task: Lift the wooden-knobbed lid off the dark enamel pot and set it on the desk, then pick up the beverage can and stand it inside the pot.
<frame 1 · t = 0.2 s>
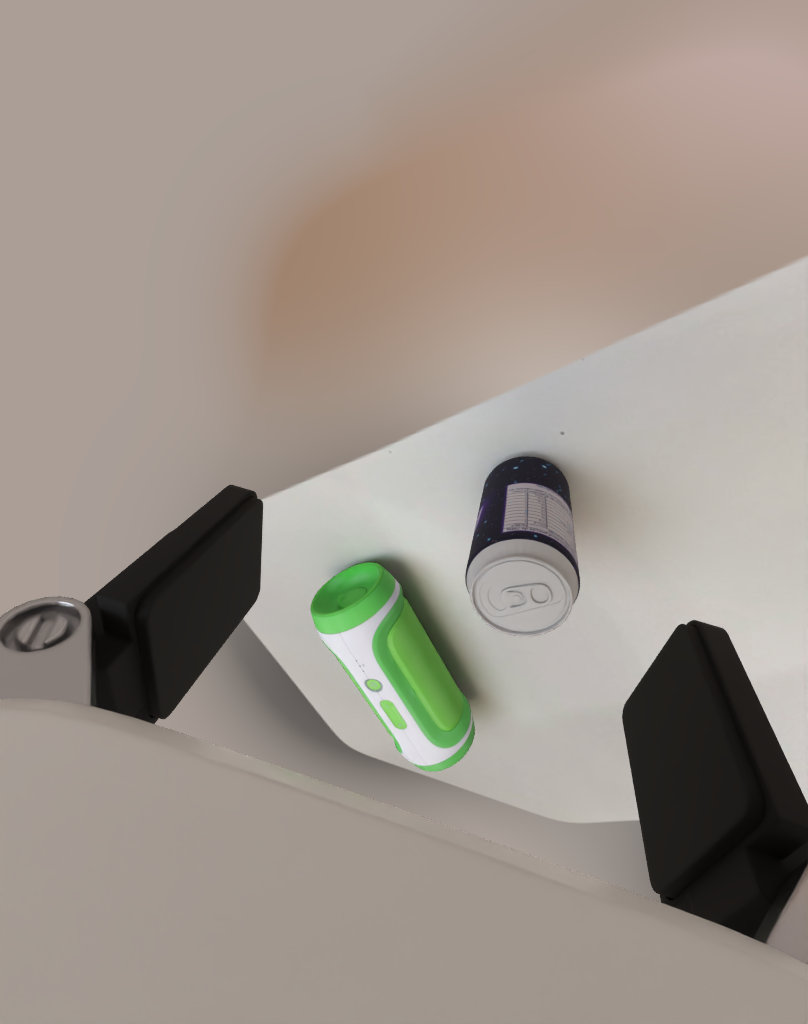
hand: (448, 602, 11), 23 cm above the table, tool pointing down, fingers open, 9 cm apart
beverage can: (525, 487, 34), on the table
speaker: (408, 634, 44), on the table
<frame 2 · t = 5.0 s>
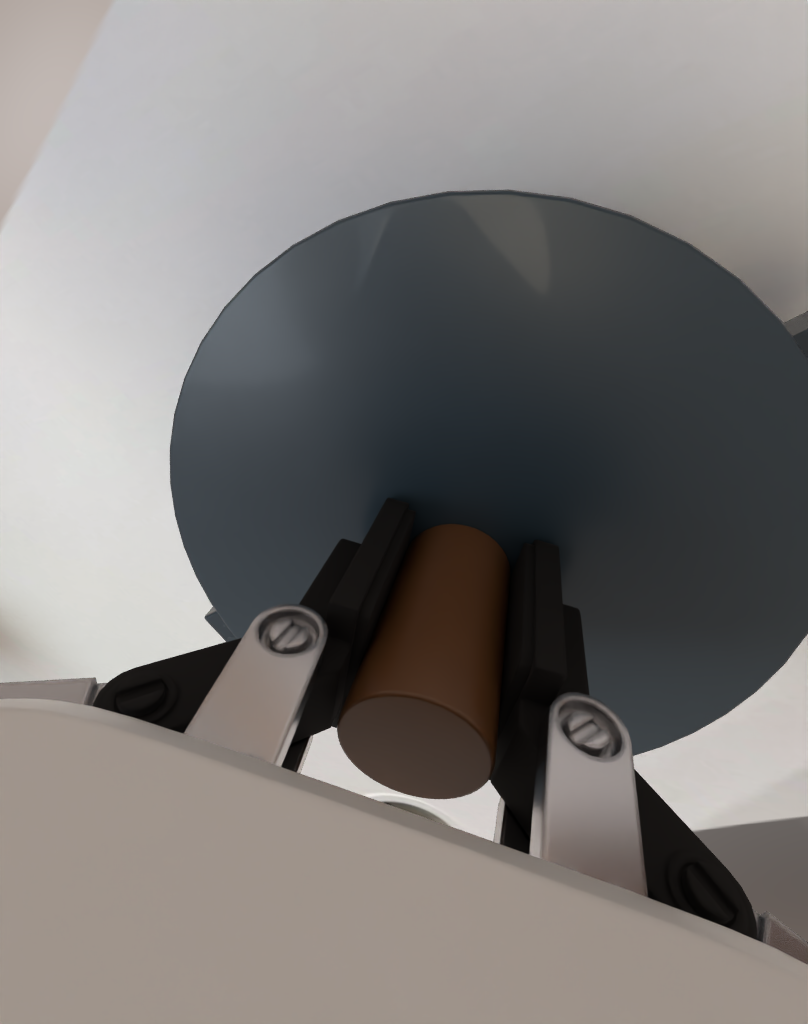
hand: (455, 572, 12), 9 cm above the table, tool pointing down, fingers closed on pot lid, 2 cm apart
pot: (488, 436, 20), on the table
pot lid: (459, 554, 13), point 9 cm above the table, touching gripper, pot
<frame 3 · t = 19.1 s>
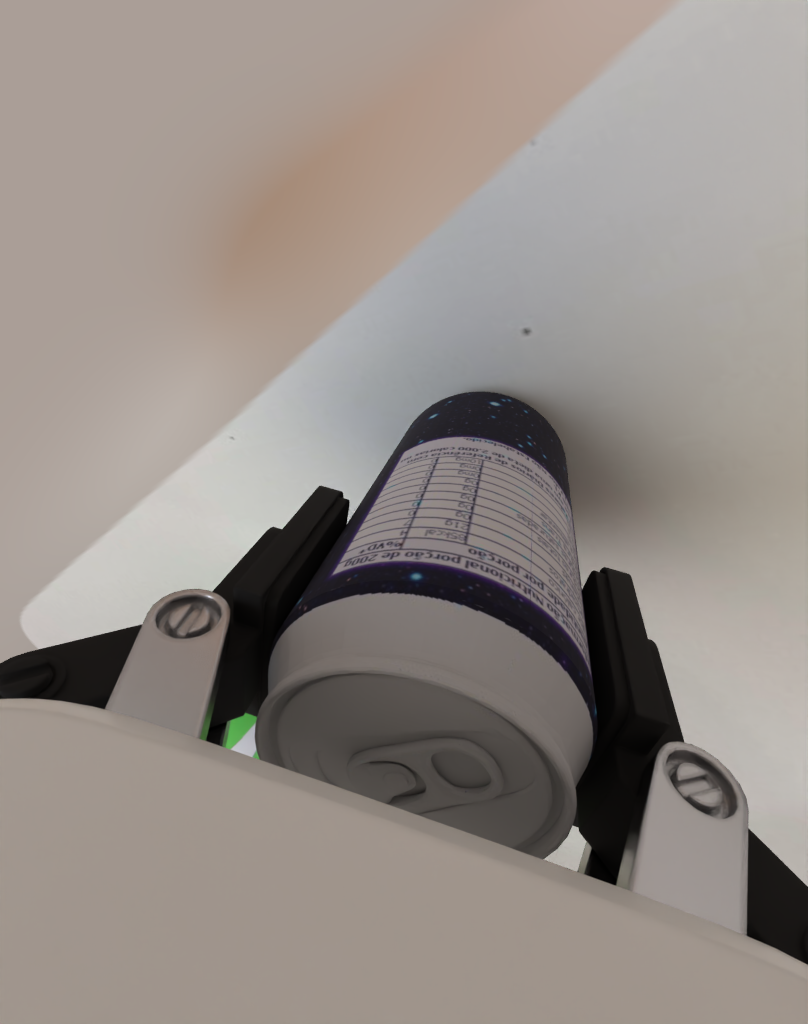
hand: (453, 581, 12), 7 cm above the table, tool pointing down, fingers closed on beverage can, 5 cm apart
beverage can: (482, 461, 18), on the table, touching gripper
speaker: (360, 732, 27), on the table
when the fingers open (7 cm above the table, at t = 29.0 s): beverage can stays where it is, resting on pot.
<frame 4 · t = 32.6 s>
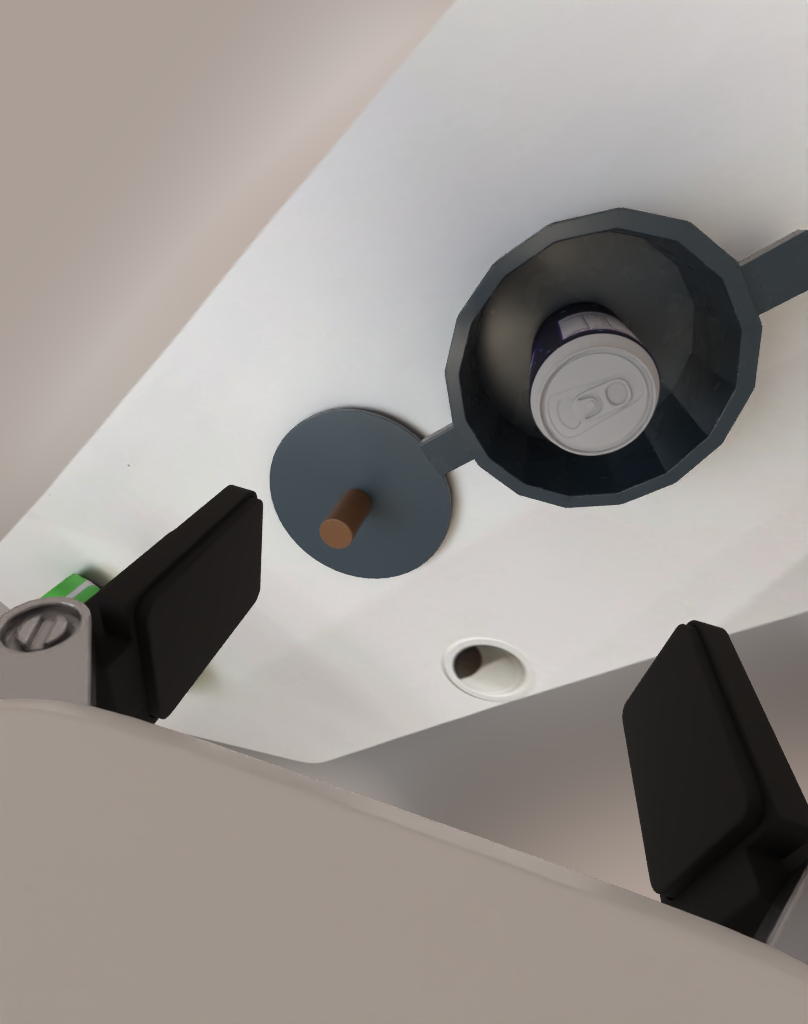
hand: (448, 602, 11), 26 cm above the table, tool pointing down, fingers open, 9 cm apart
pot: (578, 346, 32), on the table
beverage can: (576, 347, 32), resting on pot
speaker: (134, 625, 58), on the table
pot lid: (359, 499, 41), point 1 cm above the table
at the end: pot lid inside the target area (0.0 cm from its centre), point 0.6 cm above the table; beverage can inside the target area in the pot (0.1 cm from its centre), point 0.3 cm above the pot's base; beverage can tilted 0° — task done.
